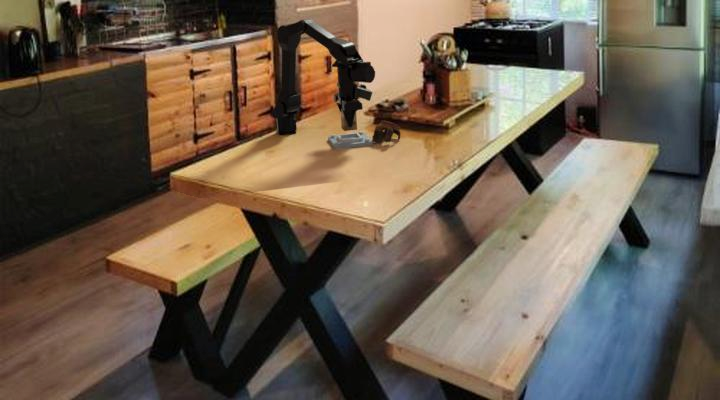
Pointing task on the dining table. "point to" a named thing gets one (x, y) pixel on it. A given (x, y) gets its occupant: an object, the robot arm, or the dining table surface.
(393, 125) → the pottery mug
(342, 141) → the board
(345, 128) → the block
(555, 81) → the dining table surface
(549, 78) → the dining table surface
